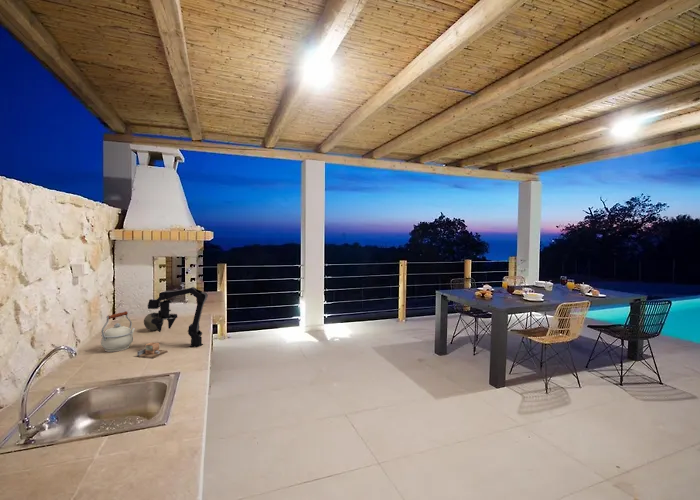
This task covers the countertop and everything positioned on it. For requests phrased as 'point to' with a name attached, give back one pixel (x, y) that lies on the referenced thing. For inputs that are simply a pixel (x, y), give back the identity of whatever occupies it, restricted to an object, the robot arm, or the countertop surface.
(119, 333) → the kettle
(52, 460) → the countertop surface
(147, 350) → the tan cube
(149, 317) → the cantaloupe
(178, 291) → the robot arm
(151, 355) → the board
